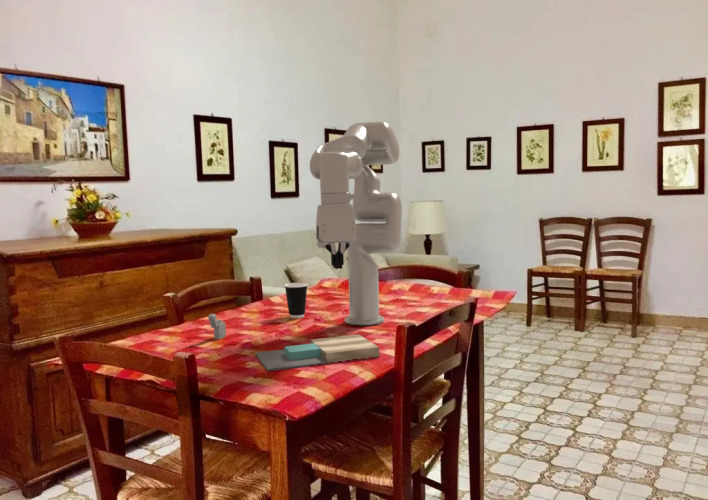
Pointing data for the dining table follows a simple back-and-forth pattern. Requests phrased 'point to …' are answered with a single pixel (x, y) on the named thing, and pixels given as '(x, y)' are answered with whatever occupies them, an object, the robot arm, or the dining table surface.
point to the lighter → (217, 327)
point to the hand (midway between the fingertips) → (337, 268)
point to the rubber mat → (285, 360)
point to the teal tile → (302, 351)
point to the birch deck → (346, 348)
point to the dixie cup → (296, 299)
